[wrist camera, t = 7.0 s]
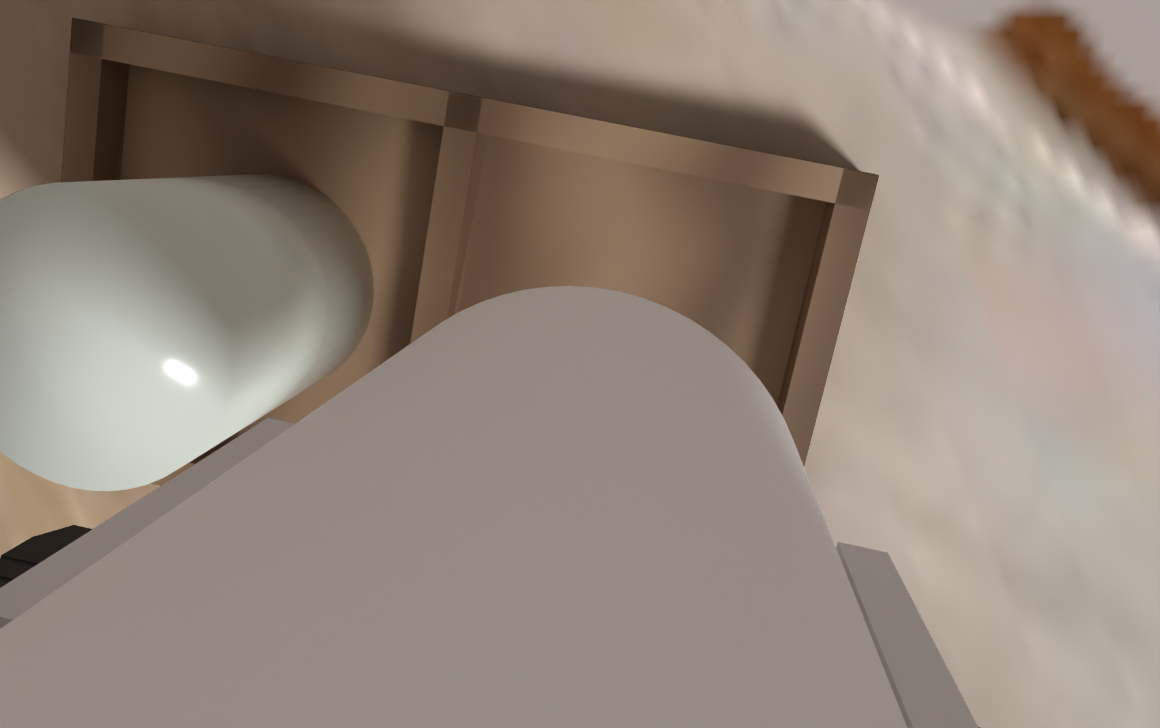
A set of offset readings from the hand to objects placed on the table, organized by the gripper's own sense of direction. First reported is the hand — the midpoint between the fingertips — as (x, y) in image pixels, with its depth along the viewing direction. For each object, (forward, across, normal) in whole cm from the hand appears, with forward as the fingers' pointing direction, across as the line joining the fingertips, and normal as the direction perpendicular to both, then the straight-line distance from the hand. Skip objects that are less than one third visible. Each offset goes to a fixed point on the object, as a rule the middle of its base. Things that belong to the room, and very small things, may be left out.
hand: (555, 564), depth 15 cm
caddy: (+17, -6, 0) cm, 18 cm away
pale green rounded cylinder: (+16, -12, 0) cm, 20 cm away
